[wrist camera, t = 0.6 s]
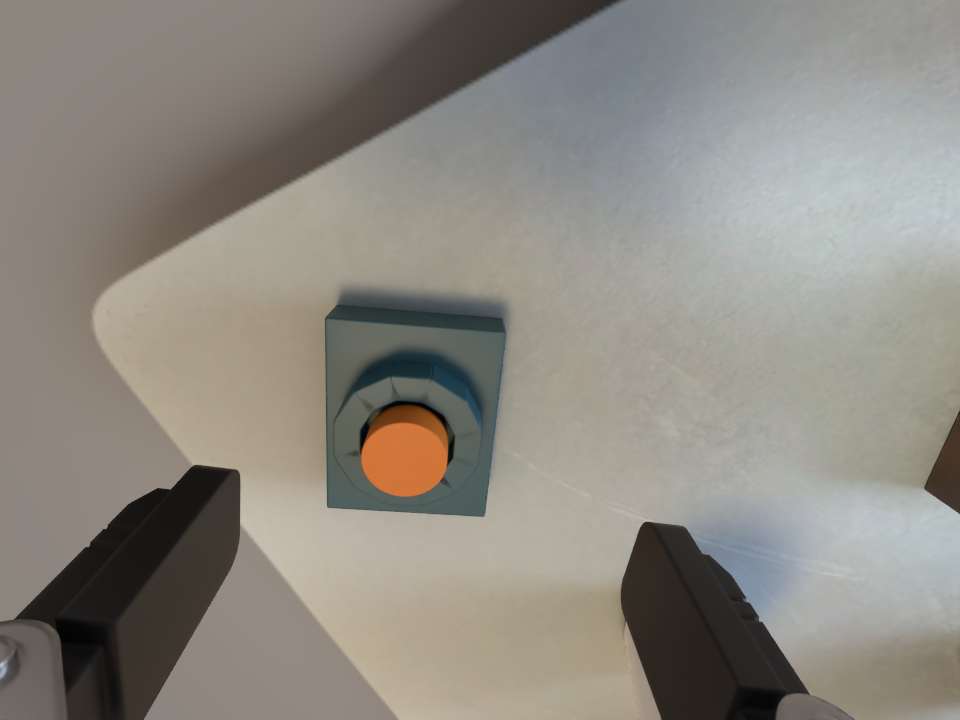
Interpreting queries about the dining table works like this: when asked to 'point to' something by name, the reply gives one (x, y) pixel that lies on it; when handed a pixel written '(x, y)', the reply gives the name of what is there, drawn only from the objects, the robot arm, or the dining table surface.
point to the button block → (412, 400)
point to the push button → (405, 451)
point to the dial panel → (948, 471)
